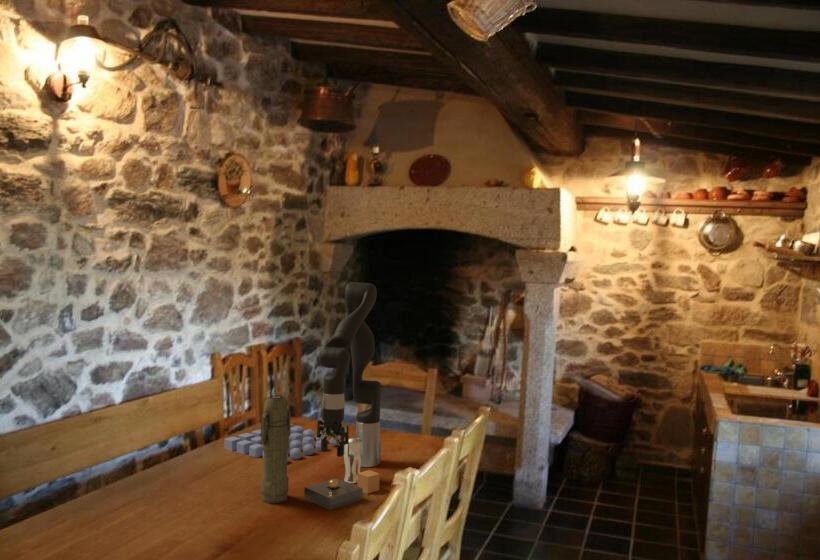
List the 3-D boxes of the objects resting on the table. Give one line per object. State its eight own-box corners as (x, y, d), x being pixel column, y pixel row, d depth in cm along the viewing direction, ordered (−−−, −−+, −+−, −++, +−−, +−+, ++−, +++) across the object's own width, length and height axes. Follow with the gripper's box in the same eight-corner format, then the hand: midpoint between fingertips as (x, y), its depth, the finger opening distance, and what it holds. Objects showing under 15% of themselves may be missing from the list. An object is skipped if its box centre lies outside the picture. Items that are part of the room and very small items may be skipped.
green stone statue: (296, 495, 240) (297, 395, 238) (273, 506, 230) (274, 401, 228) (276, 490, 245) (277, 391, 243) (253, 501, 234) (254, 398, 233)
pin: (334, 488, 240) (334, 478, 240) (339, 490, 238) (339, 480, 238) (327, 490, 238) (327, 480, 238) (332, 492, 236) (333, 482, 235)
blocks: (285, 433, 321) (285, 422, 320) (341, 447, 301) (342, 435, 300) (224, 450, 292) (224, 438, 292) (282, 467, 272) (282, 454, 272)
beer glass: (358, 484, 253) (359, 443, 252) (340, 482, 254) (341, 442, 253) (364, 478, 260) (364, 438, 259) (346, 476, 261) (346, 437, 260)
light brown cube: (368, 486, 252) (369, 469, 251) (379, 490, 248) (379, 473, 248) (357, 489, 248) (357, 473, 247) (367, 493, 244) (367, 477, 244)
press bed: (336, 489, 248) (336, 477, 248) (362, 499, 238) (362, 488, 238) (304, 498, 238) (304, 487, 238) (330, 510, 228) (330, 498, 228)
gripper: (355, 408, 234) (354, 456, 234) (328, 401, 244) (327, 447, 245) (338, 411, 229) (336, 460, 229) (311, 404, 239) (310, 451, 239)
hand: (331, 453), depth 237 cm, fingers open, 8 cm apart
